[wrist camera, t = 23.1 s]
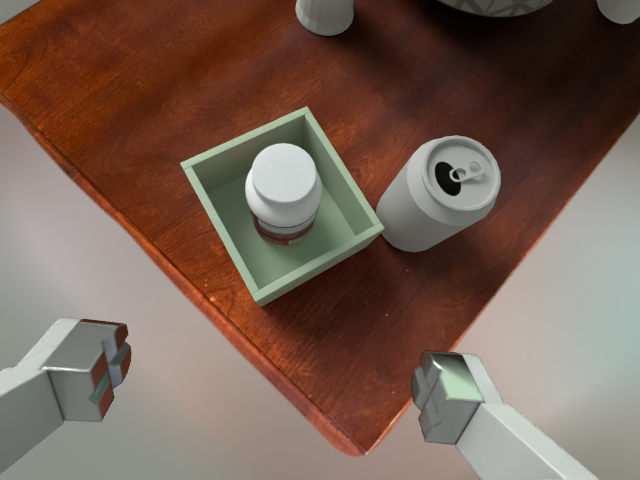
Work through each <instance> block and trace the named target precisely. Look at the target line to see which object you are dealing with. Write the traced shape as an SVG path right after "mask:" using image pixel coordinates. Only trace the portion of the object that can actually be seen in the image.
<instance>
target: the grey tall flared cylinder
mask: <svg viewBox="0 0 640 480" xmlns="http://www.w3.org/2000/svg"><path fill="white" fill-rule="evenodd" d="M353 1H354V0H297V3H296V14H297V17H298V19H299V21H300V23H301V24H302V25H303V26H304V27H305V28H306V29H307V30H309V31H311V32H313V33H315V34H319V35H323V36H333V35H336V34H340V33H342V32H343V31H345V30H346V29H348V27H349V26H350V24H351V23H352V21H353V16H354V11H353Z"/></svg>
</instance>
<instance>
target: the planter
mask: <svg viewBox="0 0 640 480" xmlns="http://www.w3.org/2000/svg"><path fill="white" fill-rule="evenodd" d="M438 1H440V2H442V3H444V4H446V5H448V6H450V7H453V8H455V9H458V10H461V11H464V12H467V13H471V14H476V15H481V16H488V17H513V16H520V15H525V14H528V13H531V12H534V11H537V10H539V9H541V8H543V7H545V6H546V5H548V4H549V3H551V2H552V1H553V0H438Z"/></svg>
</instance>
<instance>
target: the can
mask: <svg viewBox="0 0 640 480" xmlns="http://www.w3.org/2000/svg"><path fill="white" fill-rule="evenodd" d="M500 186H501V173H500V170H499V167H498V164H497V161H496V160H495V158H494V157H493V155H492V154H491V153H490V151H489V150H488V149H486V148H485V147H484V146H483V145H482V144H480V143H479V142H477V141H475V140H473V139H470V138H468V137H463V136H457V135H455V136H448V137H443V138H441V139H435V140H431V141H429V142H427V143H425V144H423V145H421V146H420V148H419V149H418V150H417V151H416V152H415V153H414V154H413V155H412V156H411V158H410V159H409V160H408V162H407V163H406V164H405V166H404V167H403V168H402V170H401V171H400V172H399V174H398V175H397V176H396V178H395V179H394V180H393V182H392V183H391V184H390V186H389V187H388V188H387V190H386V191H385V192H384V194H383V195H382V196H381V198H380V200H379V202H378V205H377V207H376V216H377V217H378V219H379V220H380V223H382V225H383V227H384V228H385V229H384V230H383V231H382V232H381V234H382V235H383V237H384V238H385V239H386V240H387V241H388V242H389V243H390V244H391V245H392V246H394V247H396V248H398V249H401V250H403V251H408V252H419V251H425V250H427V249H429V248H430V247H432V246H434V245H436V244H438V243H439V242H441V241H443V240H445V239H447V238H448V237H450V236H452V235H454V234H456V233H457V232H459V231H461V230H463V229H465V228H466V227H468V226H470V225H472V224H474V223H475V222H477V221H479V220H480V219H482V218H484V217H485V216H486V215H487V214H488V213H489V211H490V210H491V209H492V208H493V206H494V203H495V200H496V197H497V195H498V192H499V189H500Z"/></svg>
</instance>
